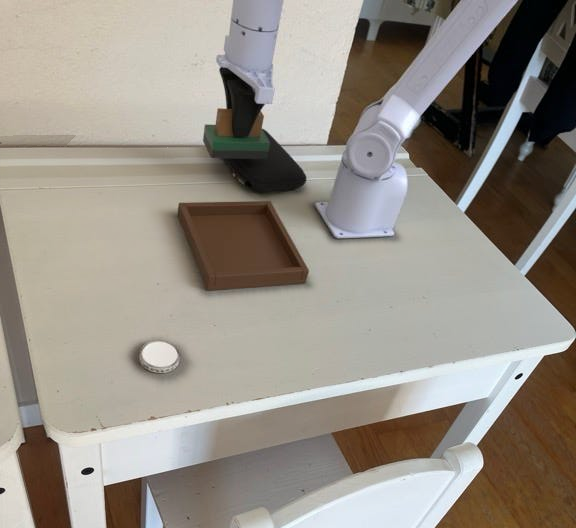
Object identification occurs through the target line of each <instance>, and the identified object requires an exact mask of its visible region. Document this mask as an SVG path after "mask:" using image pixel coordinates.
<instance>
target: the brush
mask: <svg viewBox="0 0 576 528" xmlns="http://www.w3.org/2000/svg"><path fill="white" fill-rule="evenodd" d="M216 110H217V111H216V118H215V124H207V123H206V124H204V128H203V136H202V142H203V144H204V146H205V148H206V150H207V152H208V154H209V156H210V158H211V159H224V158H226V159H267V157H268V152H269V147H270V142H269V140H268V138H267V137H266V135H265V133H264V132H263V130H262V129H263V123H264V117H265V116H264V113H263V112H262V110H261V111H260V112H259V114H258V116H257V118H256V120H255V123H254V125H253V127H252V129H251V132H250V134H249V136H248V137H238V136H234V135H233V132H232V109H227V108H220V107H219V108H218V107H217V109H216Z"/></svg>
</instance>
